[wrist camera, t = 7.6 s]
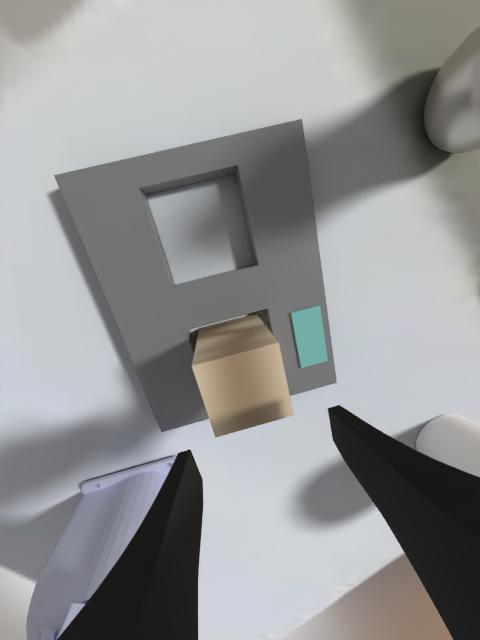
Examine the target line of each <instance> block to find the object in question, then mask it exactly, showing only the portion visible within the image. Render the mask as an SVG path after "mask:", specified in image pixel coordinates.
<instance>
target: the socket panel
mask: <svg viewBox="0 0 480 640" xmlns="http://www.w3.org/2000/svg"><path fill="white" fill-rule="evenodd" d="M235 173H236V177H237V182H238V186H239V191H240V196H241V200H242V205H243V210H244V214H245V219H246V224H247V228H248V233H249V238H250V242H251V247H252V252H253V256H254V261H255V265H252V266H248V267H244V268H240V269H236V270H232V271H228V272H224V273H220V274H216V275H212V276H208V277H205V278H201V279H197V280H193V281H189V282H185V283H181V284H177V285H175V283H174V280H173V277H172V274H171V271H170V268H169V264H168V261H167V258H166V255H165V252H164V249H163V246H162V243H161V240H160V237H159V234H158V230H157V227H156V224H155V221H154V218H153V215H152V212H151V209H150V206H149V203H148V199H147V196H146V194H150V193H154V192H158V191H163V190H167V189H171V188H175V187H180V186H184V185H188V184H192V183H197V182H201V181H205V180H209V179H214V178H218V177H222V176H226V175H231V174H235ZM54 176H55V179H56V181H57V184H58V186H59V188H60V191H61V193H62V195H63V198H64V200H65V203H66V205H67V207H68V210H69V212H70V215H71V217H72V219H73V222H74V224H75V226H76V229H77V231H78V234H79V236H80V238H81V241H82V243H83V246H84V248H85V250H86V253H87V255H88V257H89V260H90V262H91V265H92V267H93V269H94V272H95V274H96V277H97V279H98V281H99V284H100V286H101V288H102V291H103V293H104V296H105V298H106V300H107V303H108V305H109V307H110V310H111V312H112V315H113V317H114V319H115V322H116V324H117V327H118V329H119V331H120V334H121V336H122V338H123V341H124V343H125V346H126V348H127V350H128V353H129V355H130V358H131V360H132V362H133V365H134V367H135V369H136V372H137V374H138V377H139V379H140V381H141V384H142V386H143V389H144V391H145V393H146V396H147V398H148V400H149V403H150V405H151V408H152V410H153V412H154V415H155V417H156V420H157V422H158V424H159V427H160V429H161V431H162V432H163V431H167V430H171V429H174V428H178V427H181V426H185V425H188V424H192V423H195V422H199V421H202V420H206V419H209V416H208V413H207V410H206V407H205V404H204V401H203V399H202V396H201V393H200V390H199V387H198V384H197V381H196V378H195V375H194V372H193V369H192V362H193V357H194V352H195V345H194V342H193V339H192V336H191V333H190V329H192V328H196V327H200V326H203V325H207V324H211V323H215V322H218V321H222V320H226V319H230V318H234V317H237V316H241V315H245V314H249V313H253V312H256V311H260V310H264V309H265V312H266V317H267V322H268V326H269V330H270V332H271V333H272V334H273V336H274V337H275V338H276V339H277V341H278V342H279V346H280V351H281V355H282V360H283V365H284V370H285V375H286V380H287V385H288V390H289V395H290V396H291V395H295V394H298V393H302V392H305V391H309V390H312V389H316V388H319V387H323V386H326V385H330V384H334V383H337V381H336V374H335V366H334V359H333V351H332V344H331V336H330V328H329V321H328V313H327V306H326V298H325V291H324V283H323V275H322V268H321V260H320V253H319V245H318V238H317V230H316V222H315V215H314V207H313V200H312V192H311V185H310V177H309V169H308V162H307V154H306V147H305V139H304V132H303V124H302V119H300V120H296V121H291V122H287V123H282V124H278V125H274V126H269V127H265V128H260V129H256V130H252V131H247V132H243V133H238V134H234V135H230V136H225V137H221V138H216V139H212V140H208V141H203V142H199V143H194V144H190V145H186V146H181V147H177V148H172V149H168V150H164V151H159V152H155V153H151V154H146V155H142V156H137V157H133V158H129V159H124V160H120V161H115V162H111V163H107V164H102V165H98V166H93V167H89V168H85V169H80V170H76V171H71V172H67V173H63V174H58V175H54Z"/></svg>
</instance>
